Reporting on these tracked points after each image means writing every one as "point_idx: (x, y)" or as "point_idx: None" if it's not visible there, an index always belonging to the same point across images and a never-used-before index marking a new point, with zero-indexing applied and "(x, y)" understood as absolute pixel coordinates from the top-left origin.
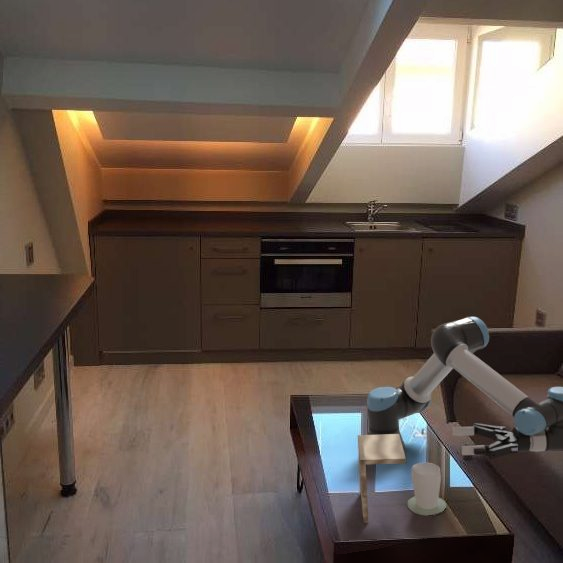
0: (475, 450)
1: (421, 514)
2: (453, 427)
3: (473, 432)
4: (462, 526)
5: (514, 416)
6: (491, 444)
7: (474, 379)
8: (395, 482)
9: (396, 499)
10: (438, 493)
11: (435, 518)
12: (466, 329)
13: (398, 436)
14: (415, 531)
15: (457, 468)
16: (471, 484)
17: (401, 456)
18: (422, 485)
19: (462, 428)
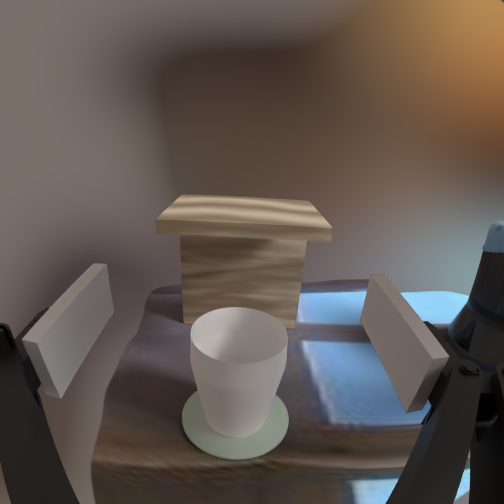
0: (44, 312)
1: (190, 398)
2: (378, 275)
3: (413, 391)
4: (113, 464)
5: None
6: (20, 400)
7: None
8: (350, 371)
9: None
10: (214, 411)
11: (168, 422)
12: None
13: (312, 225)
14: (128, 375)
15: (466, 488)
16: None
17: (171, 217)
18: (197, 347)
19: (391, 308)
